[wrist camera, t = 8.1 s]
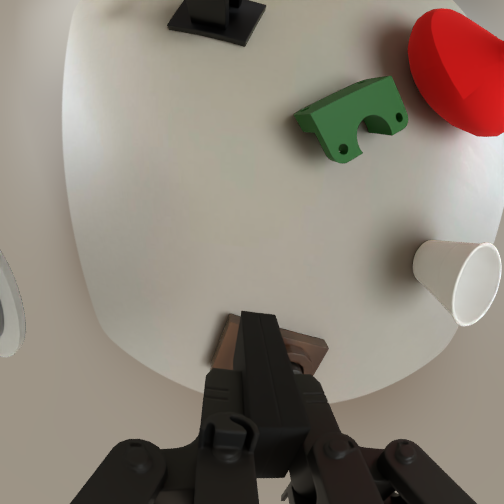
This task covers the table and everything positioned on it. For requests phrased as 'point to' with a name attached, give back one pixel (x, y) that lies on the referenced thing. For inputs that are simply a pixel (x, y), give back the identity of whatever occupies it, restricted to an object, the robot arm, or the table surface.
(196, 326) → the table surface
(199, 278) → the table surface
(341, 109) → the clamp
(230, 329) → the button block
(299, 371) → the button
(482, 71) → the vase
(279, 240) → the table surface
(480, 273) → the cup
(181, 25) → the black bracket
